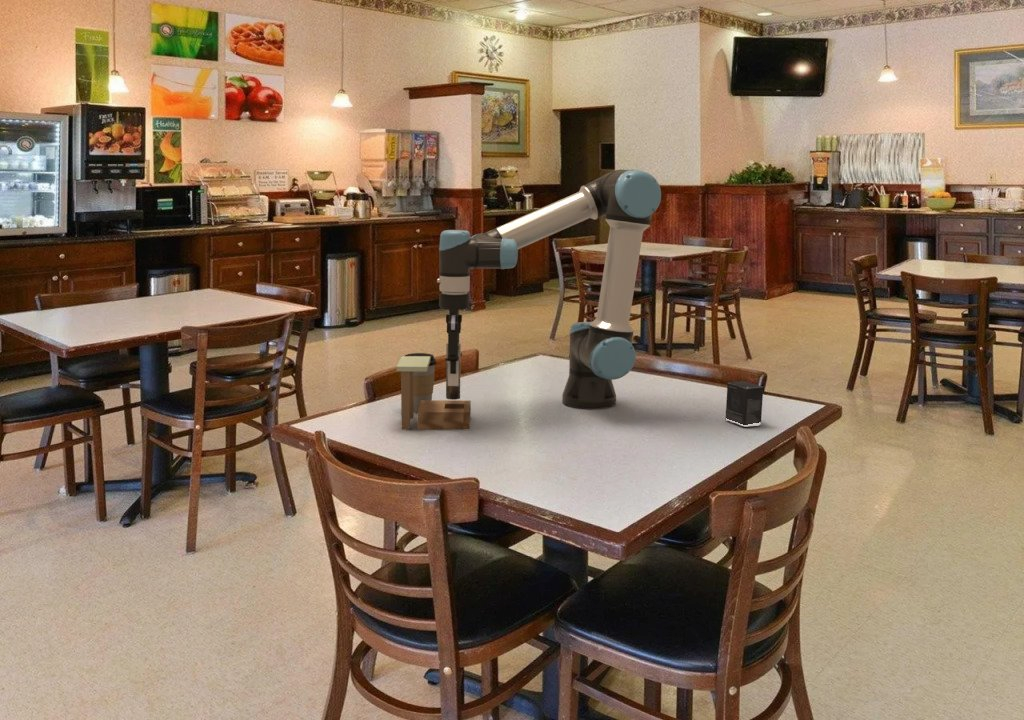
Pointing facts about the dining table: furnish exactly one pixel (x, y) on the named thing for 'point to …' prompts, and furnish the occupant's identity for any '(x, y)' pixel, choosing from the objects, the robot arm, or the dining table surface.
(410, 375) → the capped wooden post
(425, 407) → the socket
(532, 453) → the dining table surface
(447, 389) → the peg
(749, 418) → the box
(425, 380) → the coffee cup
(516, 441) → the dining table surface
